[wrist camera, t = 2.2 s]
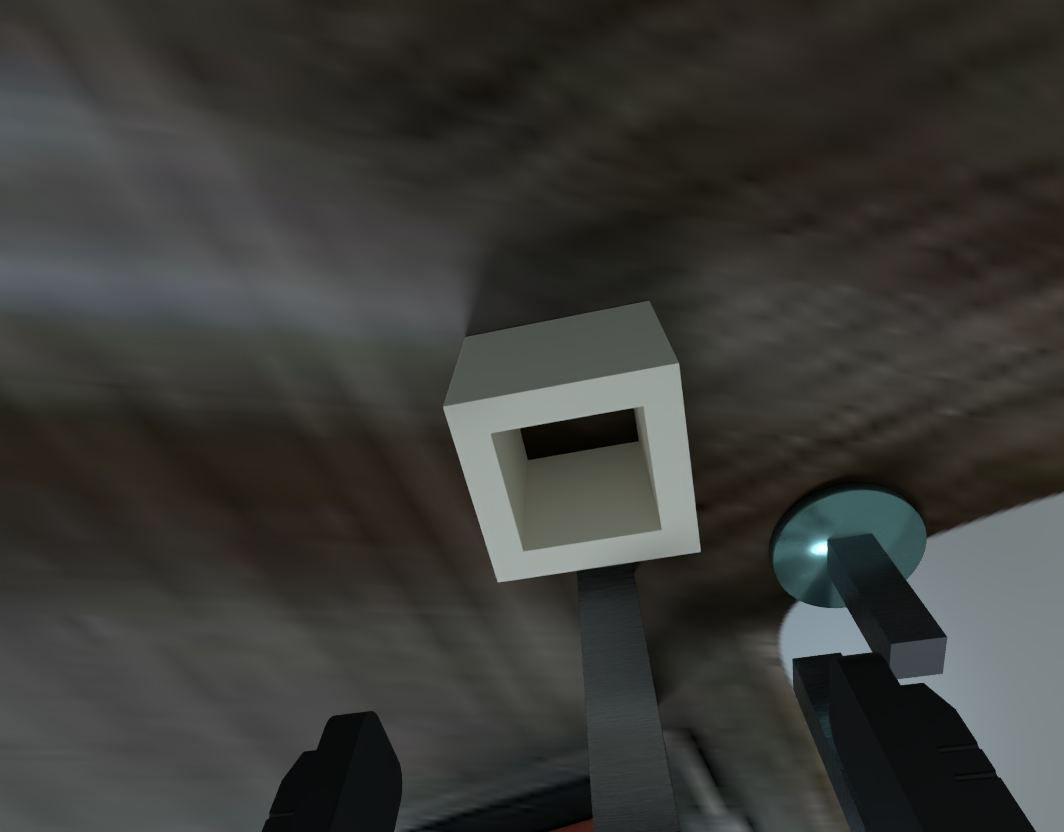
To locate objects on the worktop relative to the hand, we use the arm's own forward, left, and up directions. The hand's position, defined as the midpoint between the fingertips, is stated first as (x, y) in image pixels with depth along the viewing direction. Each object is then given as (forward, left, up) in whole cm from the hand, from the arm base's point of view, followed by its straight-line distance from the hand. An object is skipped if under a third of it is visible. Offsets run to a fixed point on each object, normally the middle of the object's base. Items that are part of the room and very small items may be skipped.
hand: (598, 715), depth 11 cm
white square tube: (0, 0, -12) cm, 12 cm away
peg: (+8, +9, -12) cm, 17 cm away
